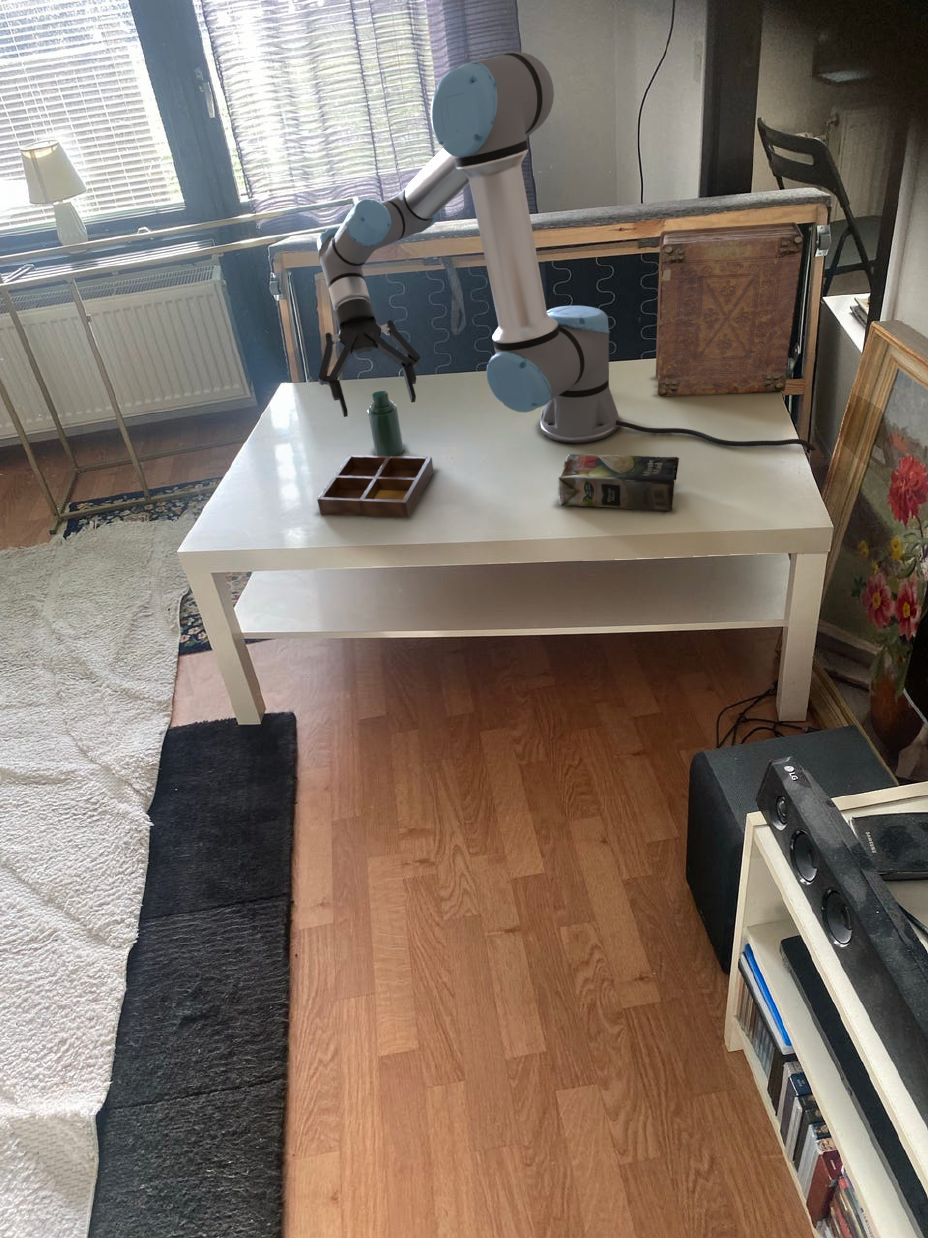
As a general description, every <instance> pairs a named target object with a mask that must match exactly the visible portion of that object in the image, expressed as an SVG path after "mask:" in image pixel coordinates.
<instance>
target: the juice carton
mask: <svg viewBox="0 0 928 1238" xmlns="http://www.w3.org/2000/svg"><path fill="white" fill-rule="evenodd" d="M679 462H680V458H679V456H649V455H615V454H588V453H569V454H568V455H567V456H566V459H565V461H564V463H563V466H562V467H563V469H562V470H561V473H560V475H559V476H558V479H557V482H558V487H557V492H558V496H559V498H558V499H559V506H563V507H565V506H566V507H572V506H578V507H601V508H611V509H622V510H624V509H625V510H642V511H652V512H654V511H655V512H671V511H672V510H673V505H674V504H673V502H674V492H675V491H674V490H675V484H676V481H677V479H678V468H679Z"/></svg>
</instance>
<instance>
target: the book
mask: <svg viewBox="0 0 928 1238" xmlns="http://www.w3.org/2000/svg"><path fill="white" fill-rule="evenodd" d="M804 237H805V236H804V235H803V233H802V231H801V229H800V227H799V226H798V224H797V223H796V222H795V221H794V222H793V221H792V222H779V223H778V222H775V223H765V224H764V223H761V224H745V225H744V224H743V225H729V226H716V227H714V226H713V227H702V228H700V227H699V228H686V229H685V228H684V229H670V230H669V229H668V230H662V231H660V237H659V238H660V239H659V261H658V263H659V266H658V267H659V268H658V290H657V291H658V292H657V293H658V294H657V319H656V321H657V323H656V327H657V328H656V351H655V352H656V353H655V354H656V355H655V379H656V380H657V396H659V397H674V396H698V395H721V394H722V395H723V394H724V395H725V394H744V393H745V394H746V393H769V392H773V393H774V392H785V390H786V386H787V376H788V370H789V369H788V368H789V360H790V352H791V344H792V343H791V342H792V334H793V327H794V319H795V312H796V302H797V295H798V294H797V293H798V287H799V279H800V269H801V261H802V254H803V244H804Z"/></svg>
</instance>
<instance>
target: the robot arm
mask: <svg viewBox="0 0 928 1238" xmlns="http://www.w3.org/2000/svg"><path fill="white" fill-rule="evenodd" d="M554 91H555V90H554V83H553V79H552V76H551V74H550V72H549V70H548V69H547V66H546V65H545V64H544V63H543V62H542V61H541V60H540V59H539V58H537V57H535V56H533V54H530V53H527V52H523V51H513V52H512V51H511V52H508V53H503V54H502V55H497V56H494V57H490V58H486V59H482V60H478V61H473V62H467V63H465V64H463V65H460V66H459V67H456V68H454V69H452V70H450V71H448V72H447V73H445V75H443V77H442V78H441V79H440V80H439V82H438V84H437V87H436V89H435V90H434V92H433V95H432V100H431V106H430V120H431V127H432V132H433V134H434V137H435V139H436V141H437V143H438V144H439V146H440V145H441V146H442V149H440V150H439V152H438V153H436V154H435V156H434V157H432V158H431V160H430V161H428V163H427V164H426V165H425V166H424V167H423V168H422V169H421V170H420V171H419V172H418V173H417V174H416V175H415V176H414V178H413V179H412V180H411V181H410V182H409V183H408V184H407V185H406V186H405V188H403V189H402V190H401V191H400V193H398V194H397V195H395V196H393V197H391V198H388V199H385V200H383V201H379V200H376V199H370V198H363V199H360V200H359V201H358V202H357V203H356V204H355V205H354V206H353V207H352V208H351V209H350V211H349V212H348V213H347V215H346V217H345V219H344V220H343V222H342V223H341V225H340V226H334V227H330V228H327V229H326V230H325V232H321V233H320V234H319V236H318V237H317V240H316V246H317V251H318V261H319V263H320V266H321V269H322V272H323V276H324V279H325V283H326V287H327V289H328V293H329V297H330V300H331V304H332V308H333V311H334V317H335V320H336V324H337V327H338V331H339V333H336V334H334V333H333V334H332V333H331V332H326V333H325V334H324V338H325V348H324V352H323V356H322V360H321V364H320V369H319V373H318V383H319V385H321V386H324V385H327V386H329V389H330V392H331V393H330V394H331V396H332V400H333V401H339V404H340V408H341V412H342V415H343V417H344V418H346V417H348V416H349V411H348V407H347V403H346V400H345V396H344V393H343V389H342V385H341V382H340V379H339V378H340V376H341V374H342V372H343V370H344V368H345V367H346V364H347V362H348V361H349V359H350V358H351V356H352V355H353V353H354V354H356V355H360V354H362V353H365V352H366V353H368V352H372V351H373V350H374V349H375V351H377V352H380V353H382V354H383V355H385V356H386V357H388V358H389V359H390V360H392V361H394V362H395V363H396V364H398V365H399V366H401V367H402V374H403V377H404V381H405V385H406V388H407V392H408V396H409V399H410V402H411V403H415V402H416V400H417V399H416V398H417V395H416V392H415V387H414V385H415V384H417V376H416V372H415V368H414V367H416V366H419V365H420V361H421V356H420V354H419V353H418V352H417V351H416V350H415V349H414V348H413V346H412V345H411V344H410V343H409V342H408V341H407V340H406V339H405V338H404V336H403V335H402V334H401V333H400V332H399V331H398V330H397V328H396V325H395V323H394V321H393V320H390V319H389V320H388V321H387V322H386V323H385V324H382V325H379V323H378V321H377V319H376V315H375V311H374V307H373V304H372V302H371V297H370V294H369V290H368V286H367V283H366V279H365V275H364V271H363V266H364V264H366V262H367V261H368V260H369V258H370V257H371V256H372V255H373V253H374V252H375V251H377V250H378V249H381V248H384V247H387V246H388V245H391V244H393V243H396V242H398V241H400V240H403V239H406V238H408V237H411V236H413V235H416V234H420V233H422V232H425V231H426V230H427V229H429V228H431V227H432V226H434V224H435V223H436V222H437V220H438V215H439V213H440V212H441V211H442V210H443V209H444V208H445V207H446V206H447V205H448V204H450V202H452V200H454V199H455V198H456V197H457V196H458V195H459V194H460V193H461V192H462V191H463V190H464V189H466V188H467V186H469V187H470V192H471V196H472V203H473V207H474V212H475V218H476V222H477V226H478V231H479V235H480V239H481V246H482V250H483V256H484V260H485V266H486V270H487V271H486V272H487V275H488V280H489V285H490V290H491V295H492V300H493V304H494V305H493V306H494V311H495V314H496V319H497V325H498V327H497V328H496V330H495V331H494V333H493V334H492V342H493V348H494V352H495V354H493V355H492V356H491V357H490V359H489V361H488V364H487V365H486V370H485V371H486V374H485V375H486V381H487V384H488V387H489V388H490V390H491V392H492V393H493V395H494V396H495V397H496V399H497V400H498V401H499V402H501V403H502V404H503V405H504V407H507V409H510V410H511V411H515V412H517V413H530V412H534V411H535V410H537V409H538V408H542V409H541V414H540V430H541V432H542V434H543V435H544V436H545V437H547V438H549V439H551V440H553V441H555V442H559V443H566V444H585V443H591V442H592V443H593V442H596V441H600V440H602V439H605V438H607V437H610V436H611V435H612V434H614V433H615V432H616V431H617V430H618V428H619V427H623V428H627V429H631V430H634V431H638V432H642V433H649V434H683V435H689V436H694V437H697V438H700V439H703V440H705V441H708V442H710V443H713V444H716V445H721V446H728V447H761V446H763V447H764V446H765V447H767V446H769V447H771V446H772V447H777V446H778V447H779V446H788V445H799V446H803V447H805V448H807V449H808V450H809V451H812V452H814V451H816V450H817V449H816V447H815V446H814V445H813V444H812V443H810V441H807V440H804V439H802V438H801V439H800V438H786V439H779V440H744V441H743V440H742V441H741V440H740V441H739V440H726V439H722V438H717V437H715V436H711V435H709V434H706V433H704V432H700V431H698V430H695V429H689V428H681V427H660V428H659V427H647V426H641V425H637V424H634V423H631V422H627V421H622V420H619V419H620V418H619V412H618V409H617V406H616V403H615V400H614V397H613V395H612V392H611V389H610V329H609V317H608V314H607V313H605V311H603V309H600V308H597V307H593V306H586V305H563V306H562V305H561V306H556V307H553V308H550V309H548V310H547V305H546V299H545V295H544V289H543V283H542V282H543V281H542V277H541V271H540V266H539V260H538V254H537V248H536V243H535V237H534V232H533V231H534V230H533V225H532V221H531V219H532V218H531V215H530V210H529V209H530V208H529V203H528V198H527V191H526V186H525V180H524V175H523V169H522V163H523V161H524V160H525V157H526V155H527V154H528V152H529V148H528V142H527V139H528V138H529V137H530V136H531V135H532V134H533V133H535V132H536V131H537V130H538V129H539V128H540V127H541V126H542V125H543V124H544V123H545V121H547V119H548V117H549V115H550V113H551V111H552V108H553V104H554V96H555V92H554ZM382 333H384V334H385V335H386V336H387V337H390V339H391V341H392V342H393V343H394V344H395V345H396V347H398V348H399V350H400V351H399V350H398V349H396V348H395V347H394V346H392V345H391V344H389V343H388V342H387V341H385V340H384V339H383V338H382V337H381V335H382ZM338 342H340V343H341V344H342V345H343V349H342V351H341V353H340V355H339V356H338V359H337V360H336V362H335V364H334V367H333V368H332V370H331V371H330V374H329V373H328V372H329V369H330V365H331V359H332V356H333V352H334V351H333V350H334V347H336V346H337V343H338ZM328 374H329V375H328Z"/></svg>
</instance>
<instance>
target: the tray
mask: <svg viewBox="0 0 928 1238" xmlns="http://www.w3.org/2000/svg"><path fill="white" fill-rule="evenodd" d="M433 474H434V464H433V458H432V456H405V455H403V456H401V455H397V456H377V455H367V454H364V455H361V454H348V455H347V456H346V458H345V460H344V461H343V462H342V463H341V465H340V466H339V468H338V469H337V471H336V472H335V474H333V476H332V478H331V479H330V480H329V482H328V484H327V485H326V486H325V487H324V489H323V491H322V492H321V493H320V494H319V496H318V497H317V499H316V501H317V505H318V509H319V513H320V515H328V516H329V515H331V516H351V517H352V516H354V517H356V516H357V517H376V518H377V517H378V518H379V517H380V518H401V519H402V518H404V519H408V518H410V516H411V514H412V513H413V510H414V508H415V507H416V505H417V503H418V501H419V499H420V497H421V496H422V494H423V492H424V490H425V488H426V487H427V485H428V483H429V482H430V480H431V478H432V476H433Z"/></svg>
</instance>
